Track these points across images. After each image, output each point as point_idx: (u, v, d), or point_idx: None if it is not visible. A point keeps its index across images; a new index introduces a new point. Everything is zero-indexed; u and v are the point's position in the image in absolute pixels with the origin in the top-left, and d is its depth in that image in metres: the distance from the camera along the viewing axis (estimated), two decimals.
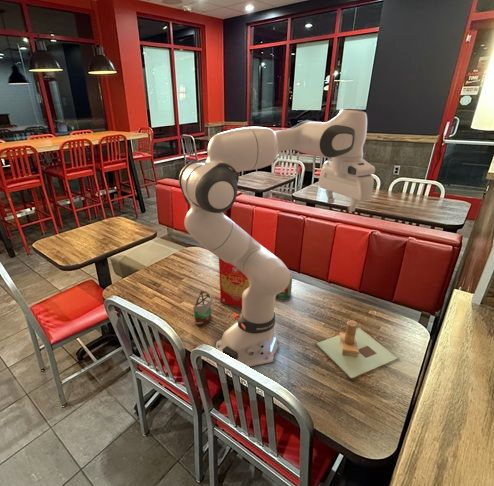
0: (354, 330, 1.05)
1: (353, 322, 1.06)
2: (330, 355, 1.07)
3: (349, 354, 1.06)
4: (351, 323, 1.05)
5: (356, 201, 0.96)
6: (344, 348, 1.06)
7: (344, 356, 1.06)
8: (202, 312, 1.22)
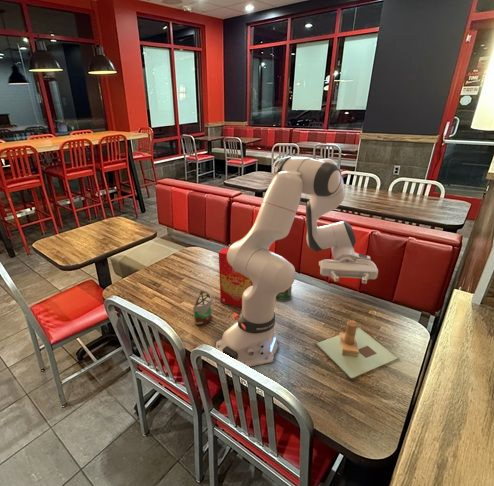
0: (354, 330, 1.05)
1: (353, 322, 1.06)
2: (330, 355, 1.07)
3: (349, 354, 1.06)
4: (351, 323, 1.05)
5: (368, 276, 1.13)
6: (344, 348, 1.06)
7: (344, 356, 1.06)
8: (202, 312, 1.22)
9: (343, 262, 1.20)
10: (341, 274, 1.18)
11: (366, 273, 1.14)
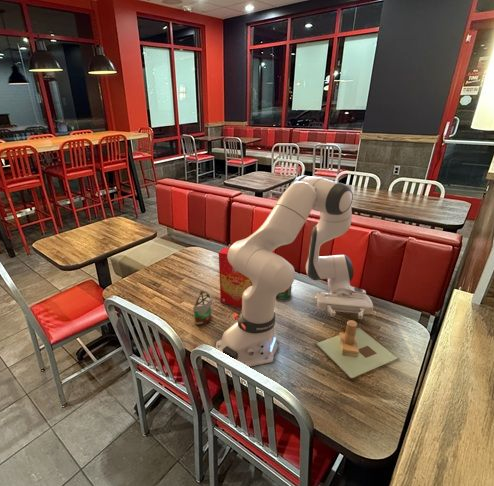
0: (354, 330, 1.05)
1: (353, 322, 1.06)
2: (330, 355, 1.07)
3: (349, 354, 1.06)
4: (351, 323, 1.05)
5: (363, 311, 1.16)
6: (344, 348, 1.06)
7: (344, 356, 1.06)
8: (202, 312, 1.22)
9: (339, 296, 1.23)
10: (337, 308, 1.20)
11: (362, 308, 1.16)
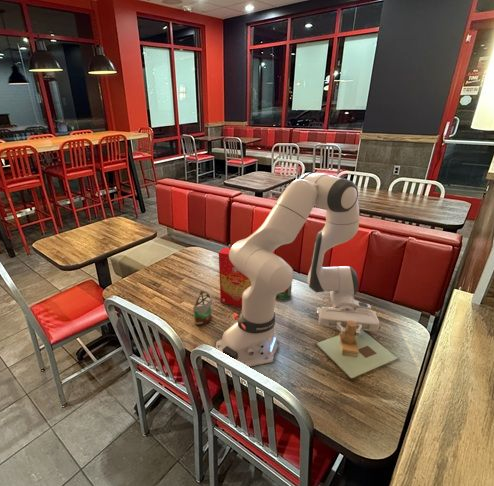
0: (354, 330, 1.05)
1: (353, 322, 1.06)
2: (330, 355, 1.07)
3: (349, 354, 1.06)
4: (351, 323, 1.05)
5: (361, 327, 1.08)
6: (344, 348, 1.06)
7: (344, 356, 1.06)
8: (202, 312, 1.22)
9: (343, 311, 1.15)
10: (341, 324, 1.12)
11: (359, 324, 1.09)
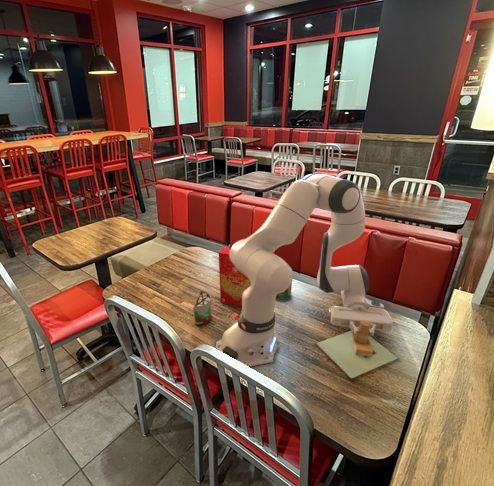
0: (368, 329, 1.03)
1: (366, 321, 1.04)
2: (330, 355, 1.07)
3: (362, 354, 1.04)
4: (365, 322, 1.04)
5: (375, 327, 1.07)
6: (357, 348, 1.04)
7: (344, 356, 1.06)
8: (202, 312, 1.22)
9: (355, 310, 1.13)
10: (353, 324, 1.10)
11: (373, 324, 1.07)
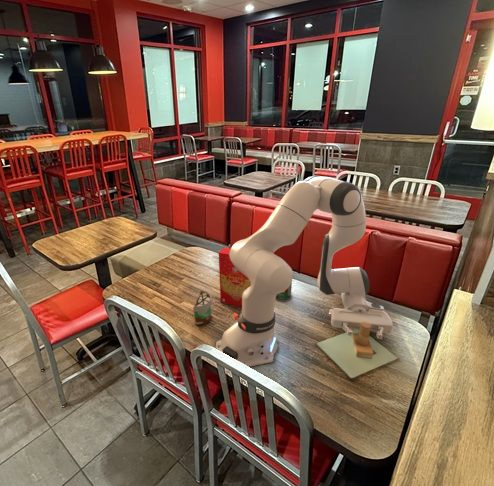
0: (368, 331, 1.04)
1: (367, 323, 1.05)
2: (330, 355, 1.07)
3: (363, 356, 1.05)
4: (365, 324, 1.04)
5: (383, 330, 1.07)
6: (358, 349, 1.05)
7: (344, 356, 1.06)
8: (202, 312, 1.22)
9: (355, 312, 1.14)
10: (354, 326, 1.11)
11: (381, 327, 1.07)
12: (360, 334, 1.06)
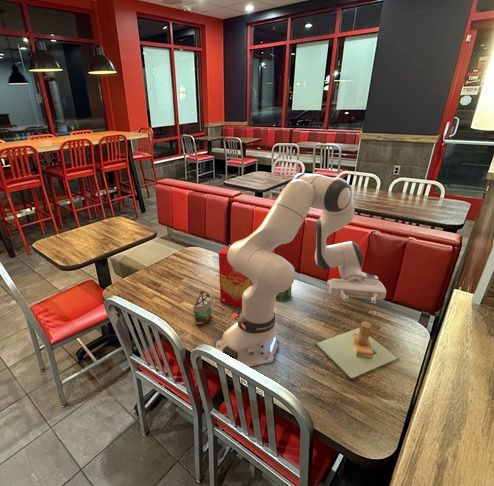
0: (368, 331, 1.04)
1: (367, 323, 1.05)
2: (330, 355, 1.07)
3: (363, 356, 1.05)
4: (365, 324, 1.04)
5: (376, 296, 1.16)
6: (358, 349, 1.05)
7: (344, 356, 1.06)
8: (202, 312, 1.22)
9: (351, 282, 1.23)
10: (350, 294, 1.20)
11: (375, 293, 1.16)
12: (360, 334, 1.06)
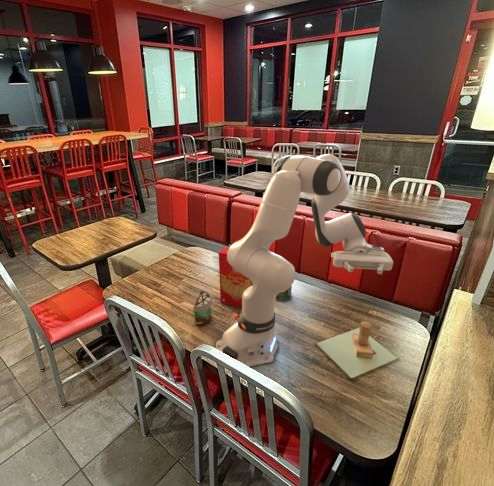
0: (368, 331, 1.04)
1: (367, 323, 1.05)
2: (330, 355, 1.07)
3: (363, 356, 1.05)
4: (365, 324, 1.04)
5: (383, 267, 1.11)
6: (358, 349, 1.05)
7: (344, 356, 1.06)
8: (202, 312, 1.22)
9: (356, 253, 1.18)
10: (355, 265, 1.15)
11: (381, 264, 1.11)
12: (360, 334, 1.06)
